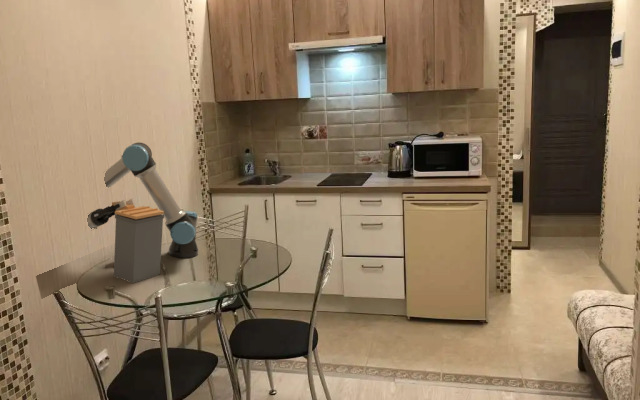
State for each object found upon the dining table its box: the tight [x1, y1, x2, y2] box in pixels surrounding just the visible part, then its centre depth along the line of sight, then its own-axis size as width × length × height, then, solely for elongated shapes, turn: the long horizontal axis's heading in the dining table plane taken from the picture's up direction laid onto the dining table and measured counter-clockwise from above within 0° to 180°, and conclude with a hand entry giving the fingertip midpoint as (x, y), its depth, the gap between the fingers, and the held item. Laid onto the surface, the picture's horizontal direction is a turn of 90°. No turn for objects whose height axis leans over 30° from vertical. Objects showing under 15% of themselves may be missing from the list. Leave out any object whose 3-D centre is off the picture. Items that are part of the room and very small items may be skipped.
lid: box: [111, 201, 164, 219], centre depth 229 cm, size 22×17×2 cm
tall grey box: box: [113, 214, 165, 284], centre depth 230 cm, size 13×17×28 cm
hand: (129, 202), depth 229 cm, fingers closed on lid, 4 cm apart
